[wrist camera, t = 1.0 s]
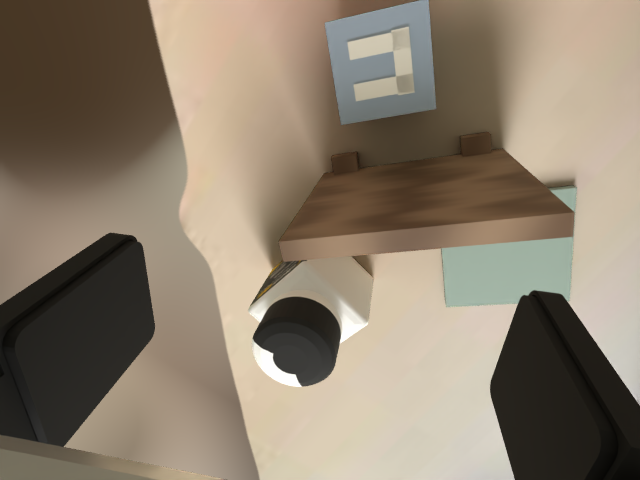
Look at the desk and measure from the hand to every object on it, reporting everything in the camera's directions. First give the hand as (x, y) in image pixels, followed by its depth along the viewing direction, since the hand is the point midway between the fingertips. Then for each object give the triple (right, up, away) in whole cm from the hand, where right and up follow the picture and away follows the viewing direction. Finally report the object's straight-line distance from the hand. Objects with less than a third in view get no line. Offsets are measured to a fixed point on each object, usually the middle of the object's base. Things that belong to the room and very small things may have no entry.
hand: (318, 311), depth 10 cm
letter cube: (+5, +15, +19) cm, 25 cm away
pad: (+16, +1, +23) cm, 28 cm away
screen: (+7, +8, +22) cm, 25 cm away
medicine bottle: (0, -1, +28) cm, 28 cm away
